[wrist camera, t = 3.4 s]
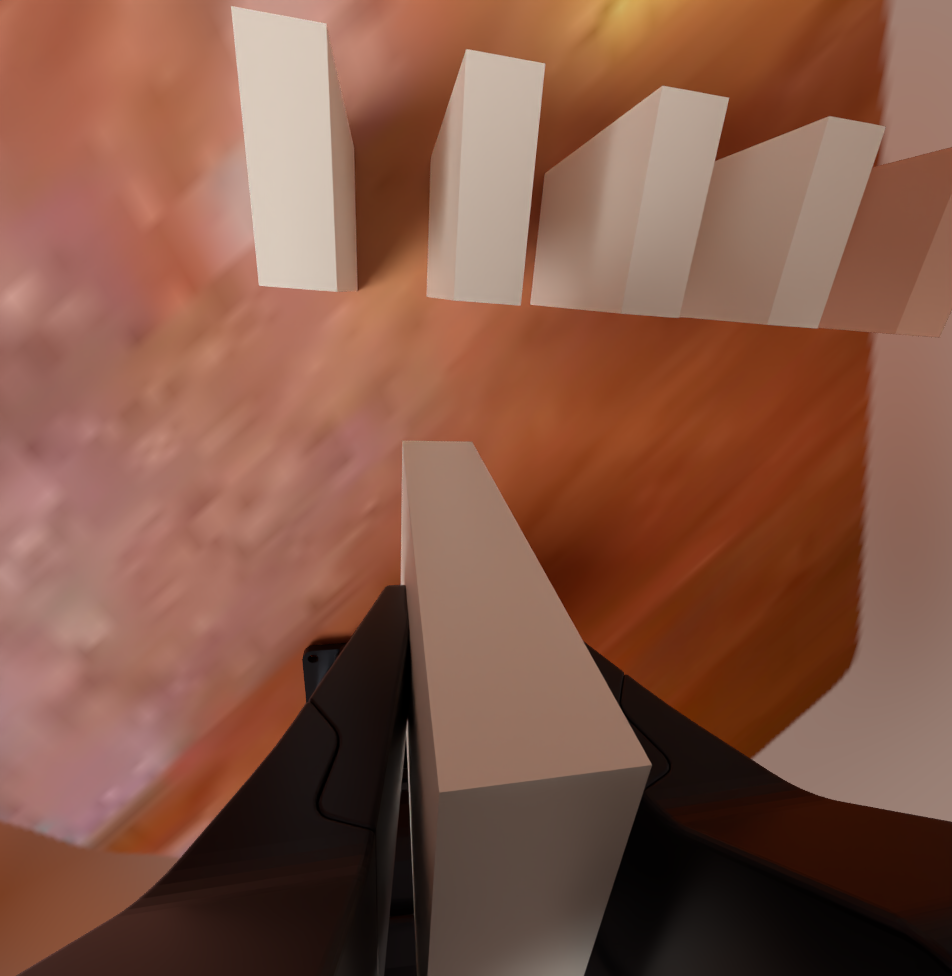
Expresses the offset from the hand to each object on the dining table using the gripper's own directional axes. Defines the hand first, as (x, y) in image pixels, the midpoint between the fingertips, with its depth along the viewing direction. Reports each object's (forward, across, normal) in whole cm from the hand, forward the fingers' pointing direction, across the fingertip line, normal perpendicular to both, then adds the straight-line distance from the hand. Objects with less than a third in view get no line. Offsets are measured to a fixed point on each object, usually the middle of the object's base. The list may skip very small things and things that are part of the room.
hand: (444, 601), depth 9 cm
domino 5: (+12, -10, -8) cm, 17 cm away
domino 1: (+12, +3, -8) cm, 14 cm away
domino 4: (+12, -5, -8) cm, 15 cm away
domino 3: (+2, 0, 0) cm, 2 cm away
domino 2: (+12, -1, -8) cm, 14 cm away
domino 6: (+12, -14, -8) cm, 20 cm away
